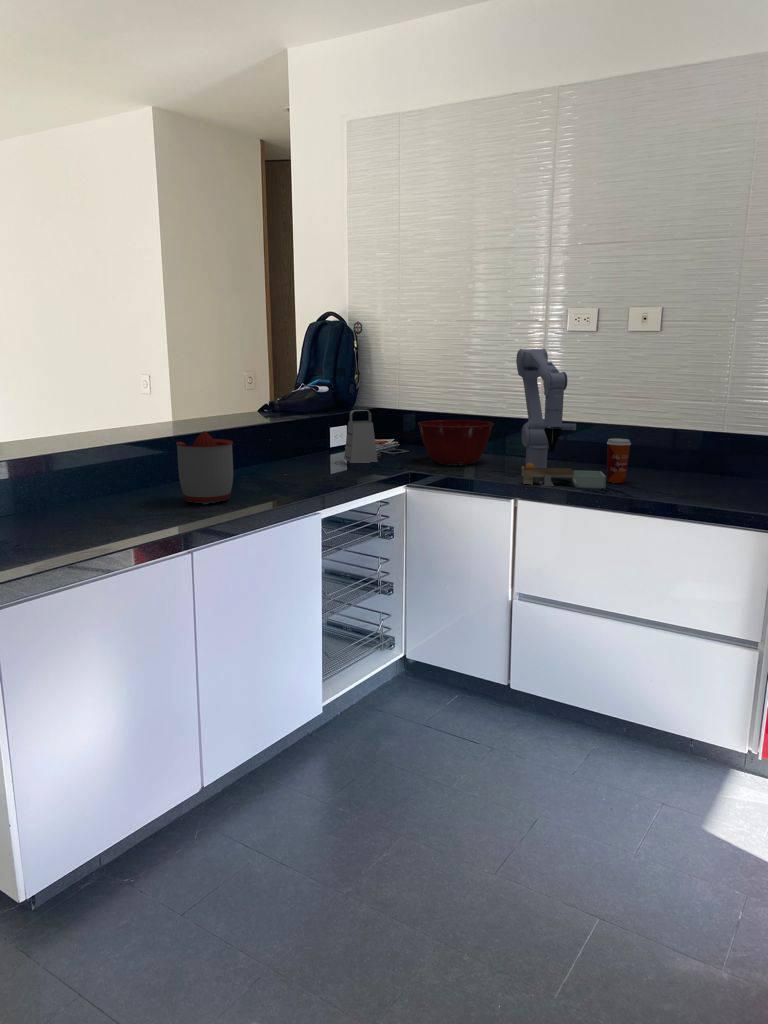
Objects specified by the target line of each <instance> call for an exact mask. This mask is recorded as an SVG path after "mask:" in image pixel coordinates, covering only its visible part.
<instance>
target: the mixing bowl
mask: <svg viewBox="0 0 768 1024" xmlns="http://www.w3.org/2000/svg"><path fill="white" fill-rule="evenodd" d="M417 425H418V428H419V432H420V436H421V439H422V442H423V445H424V447H425V449H426V451H427V453H428V456H429V457H430V458H431V459H432V460H433V461H434V462H436V463H437V462H438V463H442V464H457V465H459V464H470V465H473V464H474V463H476V461H478V460H480V458H481V456H482V454H483V453H484V451H485V449H486V447H487V445H488V443H489V440H490V436H491V434H492V430H493V426H494V425H495V424H494V422H491V421H484V420H472V419H470V420H469V419H467V420H466V419H440V420H439V419H437V420H436V419H435V420H425V421H419V422H417ZM438 463H437V464H438ZM472 463H473V464H472ZM459 466H460V465H459Z"/></svg>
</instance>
